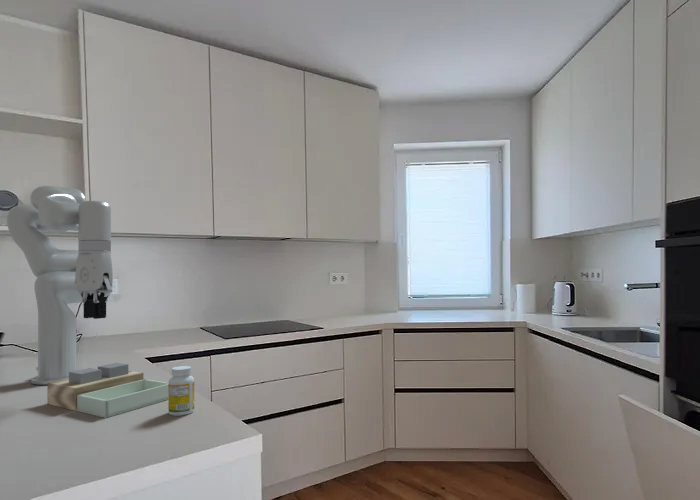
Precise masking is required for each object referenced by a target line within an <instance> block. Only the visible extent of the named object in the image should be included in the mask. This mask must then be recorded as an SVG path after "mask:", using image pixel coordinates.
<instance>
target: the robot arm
mask: <svg viewBox="0 0 700 500" xmlns="http://www.w3.org/2000/svg"><path fill="white" fill-rule="evenodd" d="M30 202H31V204H19V205H15V206H13V207H12V208H10V209H9V210H8V212H7V216H6V224H7V229H8V233H9V235H10V236H11V238H12V240H13V242H14V243H15V244H16V245H17V246H18V247H19V248H20V249H21V251H22V252H23V254H24V257H25V259H26V261H27V263H28V266H29V268H30V270H31V272H32V274H33V275H34V276H35V278H36V279H35V281H34V295H35V300H36V305H37V328H38V329H37V366H36V368H35V370H36V371H37V376H34V377H32V378H31V381H30V382H31V384H32V385H38V386H39V385H48V383H49V382H54V381H58V380H63V379H68V378H69V372H72V371H77V318H76V314H75V313H74V312H73V310H72V309H71V308H70V307H69V306H68V304H69V305H70V304H77V303H78V304H79V303H83V319H91V318H92V319H94V320H97V319H106V318H107V303H108V300H109V299H108V298H109V296H110V295H111V294H112V293H113V283H114V281H113V280H114V279H113V278H114V277H113V273H114V272H113V263H112V255H111V254H112V249H111V248H112V212H111V211H112V210H111V209H112V208H111V205H110V204H109V203H108V202H105V201H101V200H86V196H85V194H84V193H83V192H82V191H81V190H80V189H77V188H71V187H62V186H56V185H42V186H37V187H36V188H35V189H33V190H32V191H31V194H30ZM69 231H73V232H77V231H78V247H77V248H78V249H59V248H57V246H56V245H55V243H54V241H53V240H52V239H51V238H50V237H49V236H48V235H46V234H44V233H49V232H50V233H66V232H69ZM43 232H44V233H43Z"/></svg>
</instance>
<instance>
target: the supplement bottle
mask: <svg viewBox="0 0 700 500" xmlns="http://www.w3.org/2000/svg"><path fill="white" fill-rule="evenodd" d="M191 373H192V367H191V366H190V365H180V366H173V367H172V368H171V376H172V377H170V379H169V380H168V382H167V383H168V400H167V401H168V408H167V409H168V415H170V416H172V417H173V416H175V417H178V416H180V417H181V416H187V415H190V414H191V413H193V412H194V411H195V378H194V376H192V375H191Z"/></svg>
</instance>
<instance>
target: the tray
mask: <svg viewBox="0 0 700 500" xmlns="http://www.w3.org/2000/svg"><path fill="white" fill-rule="evenodd" d="M164 400H165V401H168V382H166V381H158V380H155V379H154V380H153V379H146V378H144V379H143V380H139V381H135V382H131V383H126V384H122V385H118V386H114V387H110V388H105V389H101V390H97V391H93V392H89V393H84V394H80V395H77V412H79V413H84V414H89V415H92V416H95V417H100V418H104V419H106V418H110V417H114V416H118V415H121V414H124V413H127V412H131V411H134V410H138V409H141V408H144V407H148V406H150V405H154V404H157V403H160V402H164Z"/></svg>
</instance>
